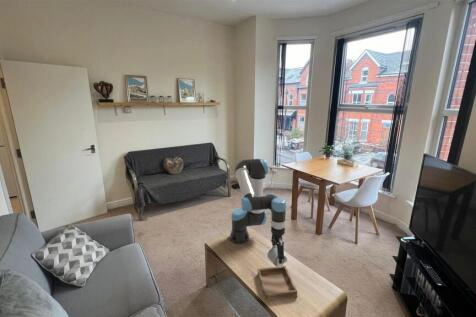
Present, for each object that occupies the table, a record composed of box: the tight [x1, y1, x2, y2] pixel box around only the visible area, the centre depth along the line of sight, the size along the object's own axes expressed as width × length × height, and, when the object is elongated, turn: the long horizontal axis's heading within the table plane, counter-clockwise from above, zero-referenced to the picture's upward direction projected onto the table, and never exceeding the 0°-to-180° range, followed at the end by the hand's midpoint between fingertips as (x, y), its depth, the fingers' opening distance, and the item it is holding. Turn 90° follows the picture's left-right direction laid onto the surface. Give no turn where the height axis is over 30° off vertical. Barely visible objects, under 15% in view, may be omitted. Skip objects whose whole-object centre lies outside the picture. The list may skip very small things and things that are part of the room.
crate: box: [257, 265, 298, 302], centre depth 136 cm, size 20×18×4 cm
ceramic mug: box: [267, 247, 288, 267], centre depth 132 cm, size 11×8×8 cm
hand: (276, 261), depth 132 cm, fingers closed on ceramic mug, 9 cm apart
